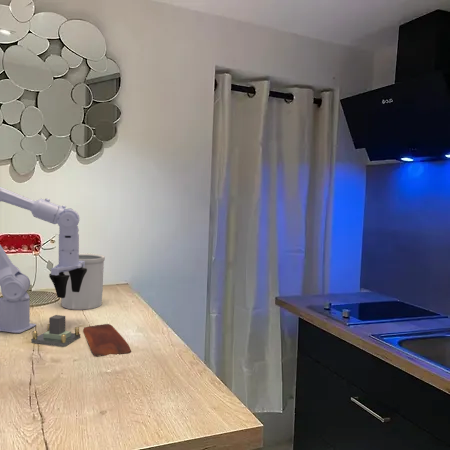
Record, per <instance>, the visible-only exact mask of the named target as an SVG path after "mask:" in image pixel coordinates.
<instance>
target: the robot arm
mask: <svg viewBox="0 0 450 450" xmlns="http://www.w3.org/2000/svg"><path fill="white" fill-rule="evenodd" d="M1 202H3V203H5V204H9V205H12V206H15V207H17V208H21V209H24V210H27V211H29V212H31V215H32V216H33V217H34V218H36V219H39V220H41V221H44V222H47V223H49V224H53V225H57V226H58V227H59V228H58V229H59V231H58V233H59V234H58V264H57V265H55V266H54V267H51V268H50V273H49V276H48V277H49V279H50V280H51V282H52V284H53V286H54V289H55V292H56V293H55V294H56V296H57V298H60V299H61V298H65V295H66V286H67V282H68V279H69V276H70V278H71V287H72V292H79V291H80V288H81V284H82V280H83V278H84V275H85V274H86V272H87V269H86V268H83V267H85V261H80V260H79V253H80V234H79V231H80V230H79V226H78V225H79V222H80V215H79V213H78V212H77V211H76V210H74V209H73V208H67V206H66V205H64V204H63V205H59V204H57V203H55V202H51V199H50V198H39V199H36V200H34V199H31V198H29V197H26V196H24V195H21V194H20V193H17V192H14V191H12V190H9V189H8V188H4V187H1V186H0V203H1ZM67 271H68V272H69V274H70V275H65V274H64V272H67ZM30 287H31V280H30V278H29V277H28V276H27V275H26V274H24V273H23V272H22V271H21V270H20V269H19V268H18V267H17V266H16V265H15V264H14V263H13V262H12V261H11V259H10V257H9V255H8V254H7V253H6V252H5V249H4V248H3V246H2V245H1V244H0V289H1V290H0V292H1V295H2V297H0V332H6V333H7V332H8V333H16V334H21V333H23V332H26V331H27V330H30V329H33V328H34V327H36V326H37V323H31V320H30V319H31V318H30V314H31V313H30V312H31V311H30V309H31V308H30V306H31V305H30V301H31V300H30V297H31V296H30V295H29V294H28V292H27V291H28V290H29V289H30Z"/></svg>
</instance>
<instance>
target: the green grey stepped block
mask: <svg viewBox="0 0 450 450" xmlns="http://www.w3.org/2000/svg"><path fill="white" fill-rule="evenodd" d="M48 321H49V323H48V324H49V331H47V330H46V331H45V332H42V334H43V338H49V339H57V340H61V335H62V334H66V338H68V337H70V336H71V333H72V331H69V330H66V315H62V314H61V315H59V314H55V315H53V316H50V317H49V320H48Z"/></svg>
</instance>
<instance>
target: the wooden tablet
mask: <svg viewBox="0 0 450 450" xmlns="http://www.w3.org/2000/svg"><path fill="white" fill-rule="evenodd" d="M82 333H83V334H84V336H85V338H86V341H87V343H88V346H89V347H90V351H91V353H92V354H93V355H94V357H97V358H98V357H99V358H100V357H105V356H109V355H117V354H119V355H127V354H130V353H131V352H132V350H131V347H130V346H129V344H128V342H127V341H126V340H125V339H124V337H123V336H122V335H121V334H120V333H119V332H118V331H117V329H116V328H115V327H114V326H113V325H111V324H110V323H104V324H95V325H89V326H85V327H84V328H83V330H82ZM117 356H118V355H117Z"/></svg>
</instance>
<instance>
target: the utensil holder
mask: <svg viewBox="0 0 450 450" xmlns="http://www.w3.org/2000/svg"><path fill="white" fill-rule="evenodd" d="M105 257H106V256H104V255H102V254H98V253H92V252H91V253H89V252H83V253H82V252H79V260H80V261H85V267H83V268H86V269H87V272H86V274H85V275H84V278H83V280H82V284H81V288H80V291H79V292H72V287H71V278H70V276H69V279H68V282H67V286H66V295H65V298H60V299H61V307H63V308H65V309H69V310H80V311H81V310H91V309H96V308H99V307H100V306H101V305H102V303H103V290H104V289H103V287H104V268H105V266H104V265H105V264H104V263H105V262H104V261H105ZM64 274H65V275H70V274H69V272H68V271H67V272H64Z"/></svg>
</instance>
